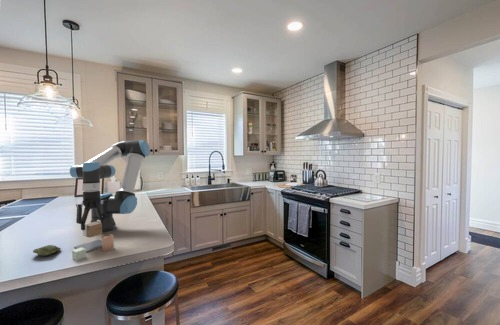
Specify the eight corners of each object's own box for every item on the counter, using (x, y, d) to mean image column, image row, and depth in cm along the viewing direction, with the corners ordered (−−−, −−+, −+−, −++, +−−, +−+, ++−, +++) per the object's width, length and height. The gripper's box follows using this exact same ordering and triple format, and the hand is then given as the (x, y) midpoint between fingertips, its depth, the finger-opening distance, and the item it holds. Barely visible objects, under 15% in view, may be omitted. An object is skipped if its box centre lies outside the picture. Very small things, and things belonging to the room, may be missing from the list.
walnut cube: (83, 235, 117) (83, 224, 117) (96, 232, 123) (95, 221, 122) (89, 237, 114) (89, 226, 114) (102, 234, 120) (101, 223, 120)
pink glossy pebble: (100, 250, 115) (99, 236, 114) (110, 246, 119) (110, 233, 119) (105, 252, 112) (105, 238, 112) (115, 248, 116) (115, 235, 116)
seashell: (54, 244, 117) (60, 234, 113) (60, 256, 115) (66, 247, 111) (28, 253, 108) (34, 243, 104) (34, 266, 106) (40, 256, 102)
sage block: (72, 258, 105) (72, 250, 105) (82, 255, 109) (81, 247, 109) (76, 260, 103) (76, 252, 103) (86, 257, 107) (86, 249, 107)
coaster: (74, 248, 117) (74, 246, 117) (98, 240, 127) (98, 239, 127) (85, 253, 111) (85, 251, 111) (110, 244, 122) (110, 243, 122)
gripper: (73, 193, 108) (74, 241, 109) (113, 189, 125) (114, 230, 125) (66, 192, 112) (67, 238, 113) (106, 188, 129) (107, 228, 129)
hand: (92, 233), depth 119 cm, fingers closed on walnut cube, 6 cm apart
